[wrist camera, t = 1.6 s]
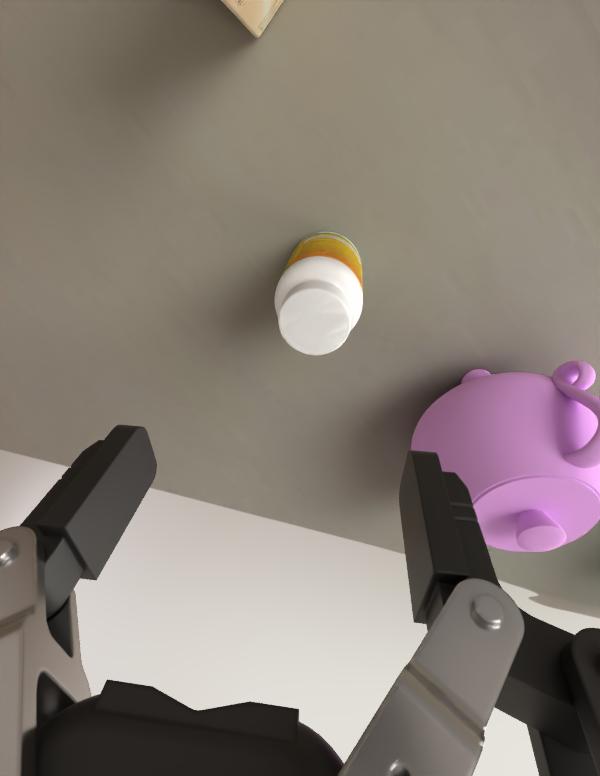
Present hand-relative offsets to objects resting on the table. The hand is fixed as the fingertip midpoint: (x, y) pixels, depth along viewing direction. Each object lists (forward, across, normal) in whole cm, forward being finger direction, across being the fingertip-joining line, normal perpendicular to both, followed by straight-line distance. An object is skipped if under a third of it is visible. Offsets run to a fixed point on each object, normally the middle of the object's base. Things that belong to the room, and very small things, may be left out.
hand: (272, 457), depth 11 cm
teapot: (+20, -16, +14) cm, 29 cm away
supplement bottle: (+20, 0, 0) cm, 20 cm away
